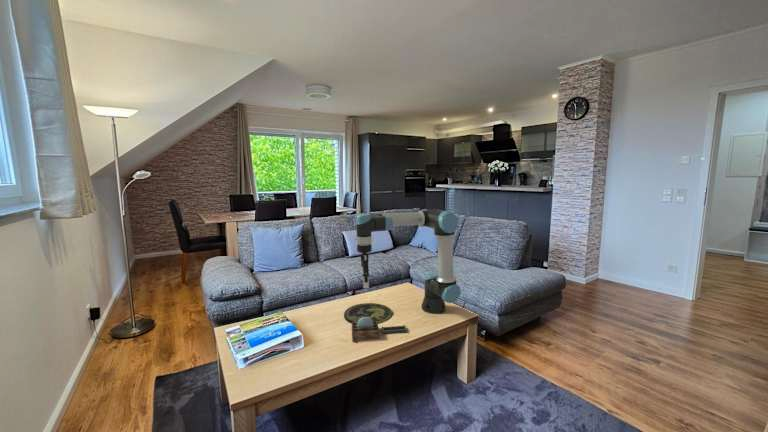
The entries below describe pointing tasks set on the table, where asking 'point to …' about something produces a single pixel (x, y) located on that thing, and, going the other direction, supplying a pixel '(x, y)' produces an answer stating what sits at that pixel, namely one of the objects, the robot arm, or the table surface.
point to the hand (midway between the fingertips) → (365, 283)
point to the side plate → (365, 323)
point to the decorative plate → (368, 312)
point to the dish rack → (364, 332)
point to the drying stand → (394, 329)
